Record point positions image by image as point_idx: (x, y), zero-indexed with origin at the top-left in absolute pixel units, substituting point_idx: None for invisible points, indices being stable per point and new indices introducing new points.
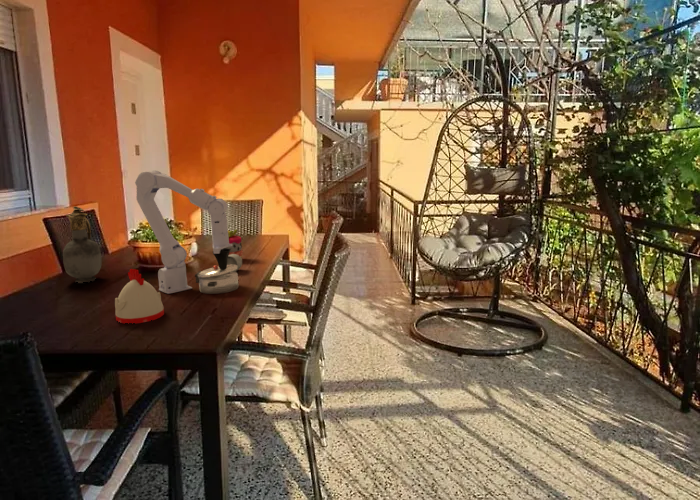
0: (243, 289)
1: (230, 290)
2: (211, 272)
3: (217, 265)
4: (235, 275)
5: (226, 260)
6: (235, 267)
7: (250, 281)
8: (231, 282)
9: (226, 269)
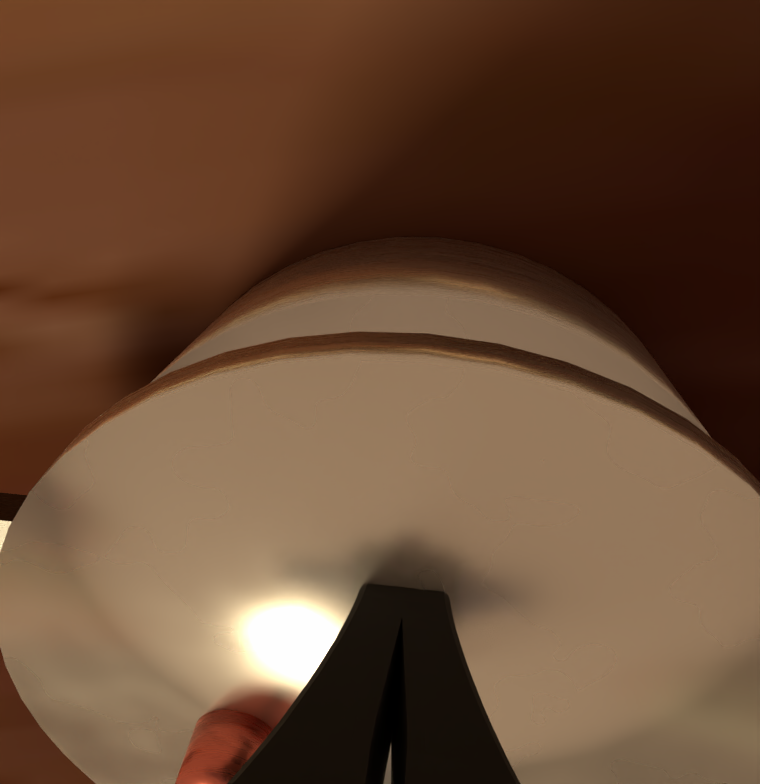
0: (548, 128)
1: (629, 329)
2: (529, 776)
3: (208, 767)
4: (476, 325)
5: (438, 740)
6: (509, 383)
7: (44, 76)
8: (637, 352)
9: (533, 570)
